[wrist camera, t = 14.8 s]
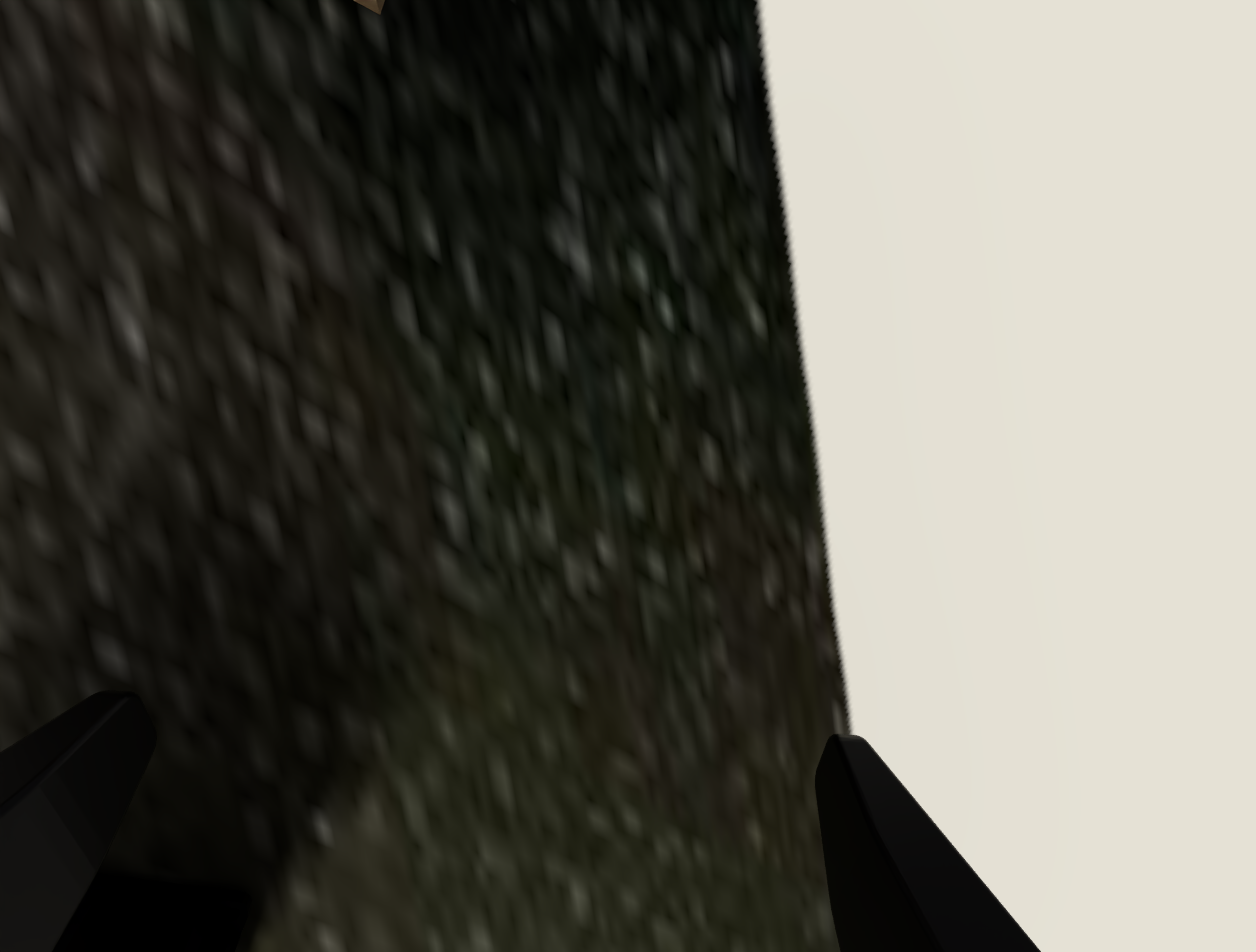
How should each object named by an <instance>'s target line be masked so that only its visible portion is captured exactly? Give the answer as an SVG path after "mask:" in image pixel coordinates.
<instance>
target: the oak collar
mask: <svg viewBox="0 0 1256 952" xmlns="http://www.w3.org/2000/svg"><path fill="white" fill-rule="evenodd" d="M354 1H356V2H357V3H359V4H361V5H363V6H365V7H367V8H368V9H370V10H372V11H374V12H376V13H378V14H379V15H380V13H381V10H382V7H383V4H384V1H385V0H354Z"/></svg>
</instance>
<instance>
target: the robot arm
mask: <svg viewBox="0 0 1256 952" xmlns="http://www.w3.org/2000/svg"><path fill="white" fill-rule="evenodd" d="M156 739H157V735H156V730H155V727H154V725H153V723H152V721H151V719H150V717H149V715H148V713H147V710H146V708H145V706H144V704H143V702H142V700H141V698H140V697H139V696H138V695H137V694H136V693H134V692H126V691H109V690H108V691H101V692H98V693H95V694H93V695H91V696H90V697H88V698H86V699H85V700H83V701H82V702H80V703H78V704H77V705H75V706H74V707H72V708H70V709H69V710H67V711H66V712H64V713H62V714H61V715H59V716H58V717H56V718H55V719H53V720H51V721H50V722H48V723H47V724H45V725H43V726H42V727H40V728H39V729H37V730H35V731H34V732H32V733H31V734H29V735H27V736H26V737H24V738H23V739H21V740H20V741H18V742H16V743H15V744H13V745H12V746H10V747H8V748H7V749H5V750H4V751H2V752H0V952H235V949H236V947H237V944H238V941H239V938H240V936H241V933H242V930H243V928H244V925H245V922H246V920H247V917H248V914H249V911H250V908H251V905H252V899H251V897H250V895H248V894H247V893H246V892H243V891H239V890H230V889H221V888H213V887H204V886H196V885H187V884H178V883H170V882H161V881H153V880H144V879H135V878H127V877H118V876H109V875H101V874H97V872H98V870H99V868H100V866H101V864H102V862H103V860H104V858H105V856H106V854H107V852H108V850H109V848H110V845H111V843H112V841H113V839H114V837H115V835H116V832H117V830H118V828H119V826H120V824H121V822H122V819H123V817H124V815H125V813H126V811H127V808H128V806H129V804H130V802H131V800H132V798H133V795H134V793H135V791H136V789H137V787H138V785H139V782H140V780H141V778H142V776H143V774H144V771H145V769H146V767H147V765H148V763H149V761H150V758H151V756H152V754H153V752H154V749H155V745H156ZM815 790H816V798H817V806H818V813H819V821H820V829H821V836H822V844H823V852H824V860H825V867H826V875H827V883H828V890H829V897H830V904H831V910H832V915H833V920H834V925H835V930H836V934H837V938H838V943H839V947H840V951H841V952H1041V951H1040V950H1039V949H1038V948H1037V947H1036V945H1035V944H1034V943H1033V941H1032V940H1031V939H1030V938H1029V937H1028V935H1027V934H1026V933H1025V932H1024V931H1023V929H1022V928H1021V927H1020V926H1019V925H1018V923H1017V922H1016V921H1015V920H1014V919H1013V917H1012V916H1011V915H1010V914H1009V913H1008V911H1007V910H1006V909H1005V908H1004V907H1003V905H1002V904H1001V903H1000V902H999V900H998V899H997V898H996V897H995V896H994V894H993V893H992V892H991V891H990V889H989V888H988V887H987V886H986V885H985V884H984V882H983V881H982V880H981V879H980V878H979V877H978V875H977V874H976V873H975V871H974V870H973V869H972V868H971V866H970V865H969V864H968V863H967V862H966V860H965V859H964V858H963V857H962V856H961V854H959V852H958V851H957V850H956V848H955V847H954V846H953V845H952V843H951V842H950V841H949V840H948V839H947V837H946V836H945V835H944V834H943V833H942V831H941V830H940V829H939V828H938V827H937V826H936V824H935V823H934V822H933V821H932V819H931V818H930V817H929V816H928V814H927V813H926V812H925V811H924V810H923V808H922V807H921V806H920V805H919V804H918V802H917V801H916V800H915V799H914V798H913V796H912V795H911V794H910V793H909V791H908V790H907V789H906V788H905V787H904V786H903V785H902V783H901V782H900V781H899V780H898V778H897V777H896V776H895V775H894V773H893V772H892V771H891V770H890V769H889V767H888V766H887V765H886V764H885V763H884V761H883V760H882V759H881V758H880V757H879V755H878V754H877V753H876V752H875V750H874V749H873V748H872V747H871V746H870V744H869V743H868V742H867V741H866V740H865V739H864V738H862V737H860V736H857V735H843V734H833V735H832V736H830V737H829V739H828V741H827V743H826V746H825V748H824V751H823V754H822V756H821V759H820V762H819V764H818V767H817V770H816V775H815ZM228 908H236V909H237V910H230V909H228Z"/></svg>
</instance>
